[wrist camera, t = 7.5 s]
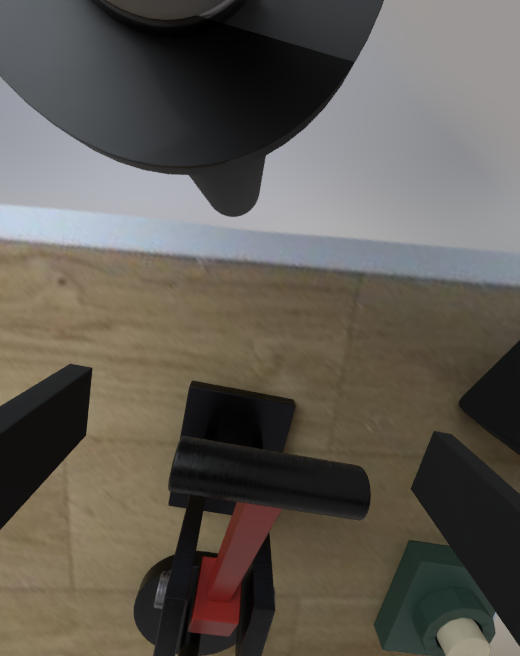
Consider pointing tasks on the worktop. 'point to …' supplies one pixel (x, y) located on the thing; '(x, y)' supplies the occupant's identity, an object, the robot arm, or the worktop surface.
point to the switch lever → (255, 511)
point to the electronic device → (498, 400)
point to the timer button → (463, 639)
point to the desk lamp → (189, 642)
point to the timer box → (429, 600)
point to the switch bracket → (223, 511)
